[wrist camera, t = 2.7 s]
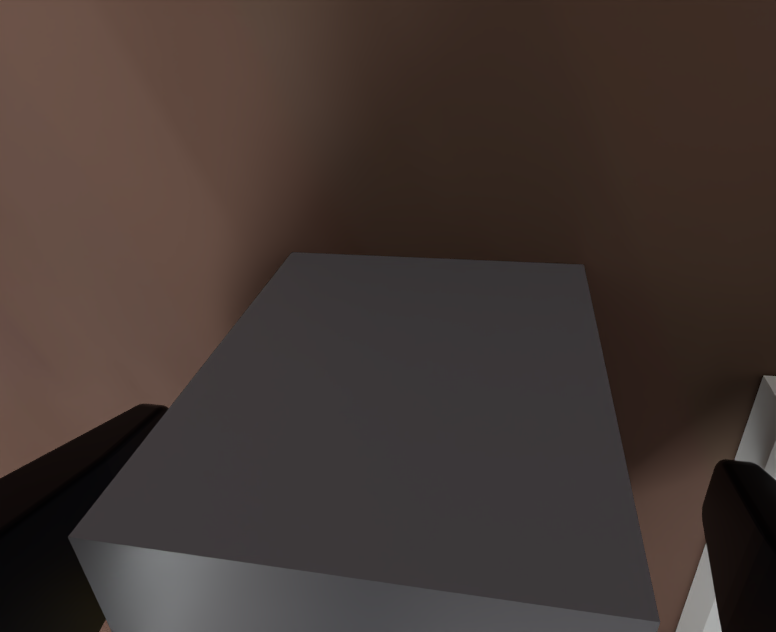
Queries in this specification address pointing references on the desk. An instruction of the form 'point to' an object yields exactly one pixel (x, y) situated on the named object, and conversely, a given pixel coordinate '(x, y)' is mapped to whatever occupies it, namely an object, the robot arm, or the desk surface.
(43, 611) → the robot arm
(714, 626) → the board
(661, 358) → the desk surface
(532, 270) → the plug
